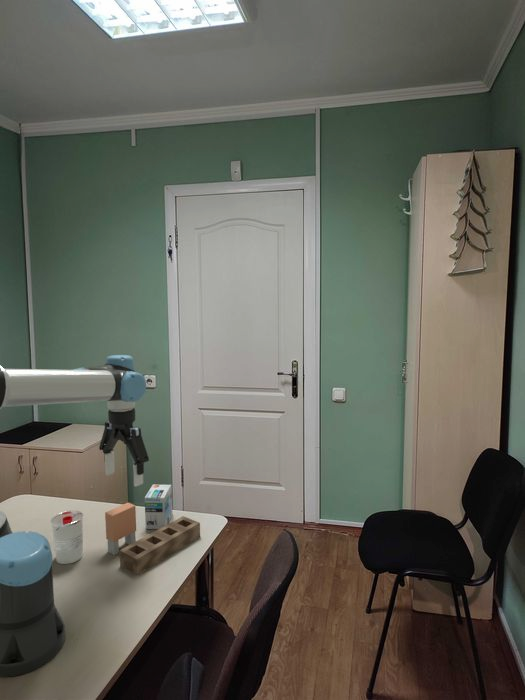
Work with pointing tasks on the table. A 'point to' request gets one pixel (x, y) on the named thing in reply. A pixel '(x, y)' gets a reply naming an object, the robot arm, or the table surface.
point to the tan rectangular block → (120, 526)
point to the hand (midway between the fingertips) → (123, 479)
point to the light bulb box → (158, 506)
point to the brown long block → (159, 545)
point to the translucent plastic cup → (68, 536)
